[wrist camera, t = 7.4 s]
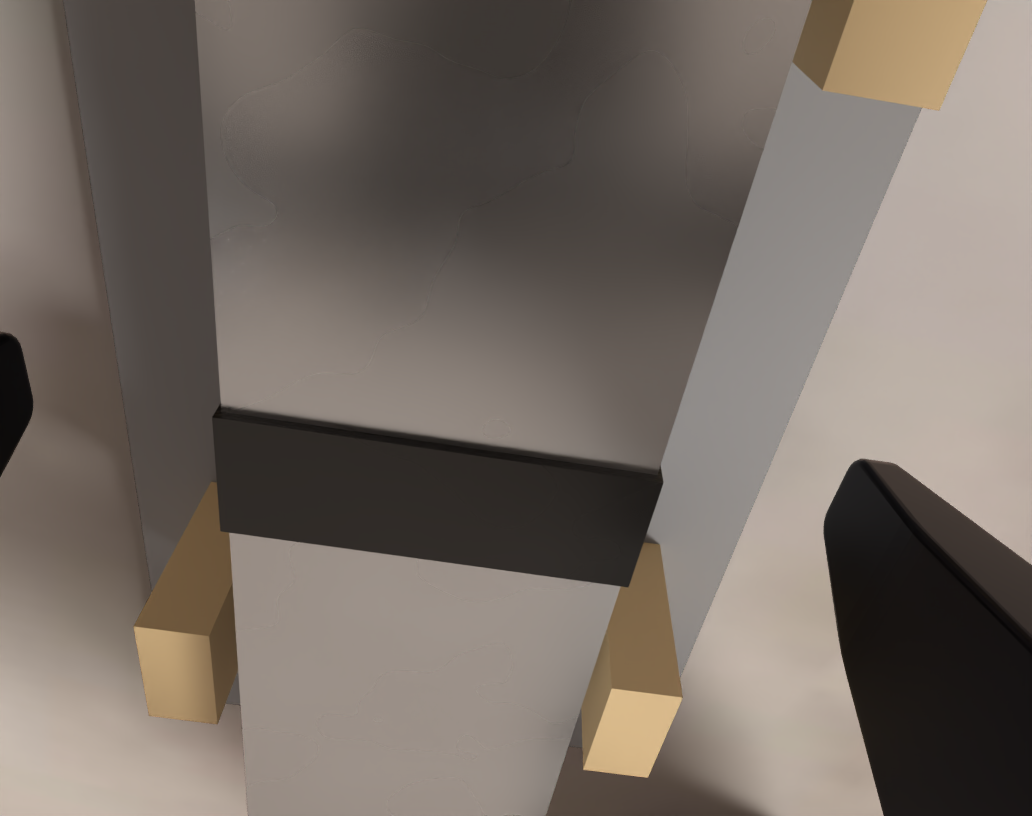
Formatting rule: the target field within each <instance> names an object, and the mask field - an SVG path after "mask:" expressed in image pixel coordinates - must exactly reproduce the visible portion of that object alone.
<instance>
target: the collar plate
mask: <svg viewBox="0 0 1032 816" xmlns="http://www.w3.org/2000/svg"><path fill="white" fill-rule="evenodd" d="M986 2H987V0H812V3H811V6H810V9H809V12H808V15H807V18H806V21H805V24H804V27H803V30H802V33H801V36H800V39H799V42H798V46H797V49H796V52H795V55H794V58H793V61H792V64H791V67H790V70H789V73H788V76H787V79H786V82H785V85H784V88H783V91H782V94H781V98H780V101H779V104H778V107H777V110H776V113H775V116H774V119H773V122H772V125H771V128H770V131H769V134H768V137H767V140H766V143H765V146H764V150H763V153H762V156H761V159H760V162H759V165H758V168H757V171H756V174H755V177H754V180H753V183H752V186H751V189H750V192H749V195H748V199H747V202H746V205H745V208H744V211H743V214H742V217H741V220H740V223H739V226H738V229H737V232H736V235H735V238H734V241H733V244H732V247H731V251H730V254H729V257H728V260H727V263H726V266H725V269H724V272H723V275H722V278H721V281H720V284H719V287H718V290H717V293H716V296H715V300H714V303H713V306H712V309H711V312H710V315H709V318H708V321H707V324H706V327H705V330H704V333H703V336H702V339H701V342H700V345H699V348H698V352H697V355H696V358H695V361H694V364H693V367H692V370H691V373H690V376H689V379H688V382H687V385H686V388H685V391H684V394H683V397H682V401H681V404H680V407H679V410H678V413H677V416H676V419H675V422H674V425H673V428H672V431H671V434H670V437H669V440H668V443H667V446H666V449H665V453H664V456H663V459H662V462H661V470H662V476H663V482H664V483H663V486H662V489H661V492H660V495H659V498H658V501H657V504H656V507H655V510H654V513H653V516H652V519H651V522H650V525H649V528H648V531H647V534H646V537H645V540H644V543H643V546H642V549H641V552H640V555H639V558H638V561H637V564H636V567H635V570H634V573H633V576H632V579H631V582H630V585H629V588H628V587H620V590H619V593H618V596H617V599H616V602H615V606H614V609H613V612H612V615H611V618H610V621H609V624H608V627H607V630H606V633H605V636H604V639H603V642H602V645H601V648H600V651H599V655H598V658H597V661H596V664H595V667H594V670H593V673H592V676H591V679H590V682H589V685H588V688H587V691H586V694H585V697H584V700H583V703H582V707H581V710H580V713H579V716H578V719H577V722H576V725H575V728H574V731H573V734H572V737H571V740H570V743H569V746H570V747H578V748H583V770H590V771H598V772H606V773H614V774H622V775H630V776H638V777H646V778H648V776H649V774H650V772H651V769H652V767H653V765H654V762H655V760H656V758H657V756H658V753H659V751H660V749H661V746H662V744H663V742H664V739H665V737H666V735H667V733H668V730H669V728H670V726H671V723H672V721H673V719H674V717H675V714H676V712H677V710H678V707H679V705H680V703H681V701H682V698H683V696H682V689H681V683H680V677H681V674H682V672H683V670H684V667H685V665H686V663H687V660H688V658H689V656H690V653H691V651H692V649H693V646H694V644H695V641H696V639H697V637H698V634H699V632H700V630H701V627H702V625H703V623H704V620H705V618H706V616H707V613H708V611H709V608H710V606H711V604H712V601H713V599H714V597H715V594H716V592H717V590H718V587H719V585H720V582H721V580H722V578H723V575H724V573H725V571H726V568H727V566H728V564H729V561H730V559H731V557H732V554H733V552H734V549H735V547H736V545H737V542H738V540H739V538H740V535H741V533H742V531H743V528H744V526H745V524H746V521H747V519H748V516H749V514H750V512H751V509H752V507H753V505H754V502H755V500H756V498H757V495H758V493H759V491H760V488H761V486H762V483H763V481H764V479H765V476H766V474H767V472H768V469H769V467H770V465H771V462H772V460H773V458H774V455H775V453H776V450H777V448H778V446H779V443H780V441H781V439H782V436H783V434H784V432H785V429H786V427H787V425H788V422H789V420H790V417H791V415H792V413H793V410H794V408H795V406H796V403H797V401H798V399H799V396H800V394H801V391H802V389H803V387H804V384H805V382H806V380H807V377H808V375H809V373H810V370H811V368H812V366H813V363H814V361H815V358H816V356H817V354H818V351H819V349H820V347H821V344H822V342H823V340H824V337H825V335H826V333H827V330H828V328H829V325H830V323H831V321H832V318H833V316H834V314H835V311H836V309H837V307H838V304H839V302H840V300H841V297H842V295H843V292H844V290H845V288H846V285H847V283H848V281H849V278H850V276H851V274H852V271H853V269H854V267H855V264H856V262H857V259H858V257H859V255H860V252H861V250H862V248H863V245H864V243H865V241H866V238H867V236H868V234H869V231H870V229H871V226H872V224H873V222H874V219H875V217H876V215H877V212H878V210H879V208H880V205H881V203H882V200H883V198H884V196H885V193H886V191H887V189H888V186H889V184H890V182H891V179H892V177H893V175H894V172H895V170H896V167H897V165H898V163H899V160H900V158H901V156H902V153H903V151H904V149H905V146H906V144H907V142H908V139H909V137H910V134H911V132H912V130H913V127H914V125H915V123H916V120H917V118H918V116H919V113H920V111H921V109H922V108H927V109H933V110H940V108H941V105H942V103H943V101H944V98H945V96H946V94H947V91H948V89H949V87H950V85H951V82H952V80H953V78H954V75H955V73H956V71H957V69H958V66H959V64H960V62H961V59H962V57H963V55H964V53H965V50H966V48H967V46H968V43H969V41H970V39H971V37H972V34H973V32H974V30H975V27H976V25H977V23H978V20H979V18H980V16H981V14H982V11H983V9H984V7H985V4H986ZM63 3H64V10H65V17H66V23H67V30H68V37H69V43H70V50H71V57H72V63H73V70H74V77H75V83H76V90H77V97H78V103H79V110H80V117H81V123H82V130H83V137H84V143H85V150H86V157H87V164H88V170H89V177H90V184H91V190H92V197H93V204H94V210H95V217H96V224H97V230H98V237H99V244H100V250H101V257H102V264H103V270H104V277H105V284H106V291H107V297H108V304H109V311H110V317H111V324H112V331H113V337H114V344H115V351H116V357H117V364H118V371H119V377H120V384H121V391H122V397H123V404H124V411H125V417H126V424H127V431H128V438H129V444H130V451H131V458H132V464H133V471H134V478H135V484H136V491H137V498H138V504H139V511H140V518H141V524H142V531H143V538H144V544H145V551H146V558H147V564H148V571H149V578H150V585H151V591H152V593H151V595H150V597H149V598H148V600H147V602H146V604H145V606H144V608H143V610H142V612H141V613H140V615H139V617H138V619H137V621H136V623H135V625H134V626H133V627H134V632H135V638H136V644H137V649H138V655H139V661H140V667H141V672H142V678H143V684H144V690H145V695H146V701H147V707H148V713H149V716H155V717H163V718H171V719H179V720H187V721H195V722H203V723H211V724H218V722H219V719H220V716H221V714H222V711H223V709H224V706H225V703H227V704H235V705H240V689H239V674H238V659H237V643H236V628H235V612H234V597H233V582H232V566H231V551H230V536H229V533H228V532H221V531H220V519H219V506H218V492H217V479H216V465H215V451H214V438H213V424H212V416H213V415H214V413H215V411H216V410H217V408H218V406H219V405H220V403H221V397H220V382H219V367H218V351H217V336H216V321H215V305H214V290H213V275H212V259H211V244H210V229H209V213H208V198H207V182H206V167H205V152H204V136H203V121H202V106H201V90H200V75H199V60H198V44H197V29H196V14H195V0H63Z"/></svg>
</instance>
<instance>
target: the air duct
mask: <svg viewBox="0 0 1032 816" xmlns="http://www.w3.org/2000/svg"><path fill="white" fill-rule="evenodd" d="M811 3H812V0H195V14H196V29H197V44H198V60H199V75H200V90H201V106H202V121H203V136H204V152H205V167H206V182H207V198H208V213H209V229H210V244H211V259H212V275H213V290H214V305H215V321H216V336H217V351H218V367H219V382H220V397H221V403H220V405H219V406H218V408H217V410H216V411H215V413H214V415H213V416H212V424H213V438H214V451H215V465H216V479H217V492H218V506H219V519H220V531H221V532H228V533H229V536H230V551H231V566H232V582H233V597H234V612H235V628H236V643H237V659H238V674H239V689H240V705H241V720H242V735H243V751H244V766H245V781H246V797H247V812H248V816H546V814H547V811H548V808H549V804H550V801H551V798H552V795H553V792H554V789H555V786H556V783H557V780H558V777H559V774H560V771H561V768H562V765H563V762H564V759H565V756H566V752H567V749H568V746H569V743H570V740H571V737H572V734H573V731H574V728H575V725H576V722H577V719H578V716H579V713H580V710H581V707H582V703H583V700H584V697H585V694H586V691H587V688H588V685H589V682H590V679H591V676H592V673H593V670H594V667H595V664H596V661H597V658H598V655H599V651H600V648H601V645H602V642H603V639H604V636H605V633H606V630H607V627H608V624H609V621H610V618H611V615H612V612H613V609H614V606H615V602H616V599H617V596H618V593H619V590H620V587H628V588H629V585H630V582H631V579H632V576H633V573H634V570H635V567H636V564H637V561H638V558H639V555H640V552H641V549H642V546H643V543H644V540H645V537H646V534H647V531H648V528H649V525H650V522H651V519H652V516H653V513H654V510H655V507H656V504H657V501H658V498H659V495H660V492H661V489H662V486H663V483H664V482H663V476H662V470H661V462H662V459H663V456H664V453H665V449H666V446H667V443H668V440H669V437H670V434H671V431H672V428H673V425H674V422H675V419H676V416H677V413H678V410H679V407H680V404H681V401H682V397H683V394H684V391H685V388H686V385H687V382H688V379H689V376H690V373H691V370H692V367H693V364H694V361H695V358H696V355H697V352H698V348H699V345H700V342H701V339H702V336H703V333H704V330H705V327H706V324H707V321H708V318H709V315H710V312H711V309H712V306H713V303H714V300H715V296H716V293H717V290H718V287H719V284H720V281H721V278H722V275H723V272H724V269H725V266H726V263H727V260H728V257H729V254H730V251H731V247H732V244H733V241H734V238H735V235H736V232H737V229H738V226H739V223H740V220H741V217H742V214H743V211H744V208H745V205H746V202H747V199H748V195H749V192H750V189H751V186H752V183H753V180H754V177H755V174H756V171H757V168H758V165H759V162H760V159H761V156H762V153H763V150H764V146H765V143H766V140H767V137H768V134H769V131H770V128H771V125H772V122H773V119H774V116H775V113H776V110H777V107H778V104H779V101H780V98H781V94H782V91H783V88H784V85H785V82H786V79H787V76H788V73H789V70H790V67H791V64H792V61H793V58H794V55H795V52H796V49H797V46H798V42H799V39H800V36H801V33H802V30H803V27H804V24H805V21H806V18H807V15H808V12H809V9H810V6H811Z"/></svg>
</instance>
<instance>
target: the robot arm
mask: <svg viewBox="0 0 1032 816" xmlns="http://www.w3.org/2000/svg"><path fill="white" fill-rule="evenodd" d="M32 411H33V396H32V392H31V387H30V383H29V378H28V374H27V370H26V365H25V361H24V356H23V352H22V348H21V345H20V343H19V341H18V340H17V338H16V337H14V336H13V335H11V334H10V333H5V332H0V477H1V475H2V473H3V471H4V469H5V467H6V466H7V464H8V462H9V460H10V458H11V456H12V454H13V452H14V450H15V448H16V447H17V445H18V443H19V441H20V439H21V437H22V435H23V433H24V431H25V429H26V428H27V426H28V424H29V421H30V419H31V416H32ZM824 540H825V547H826V554H827V561H828V568H829V575H830V582H831V589H832V596H833V603H834V610H835V617H836V624H837V631H838V637H839V643H840V649H841V654H842V658H843V663H844V667H845V671H846V675H847V679H848V683H849V687H850V690H851V694H852V698H853V702H854V705H855V709H856V713H857V717H858V720H859V724H860V728H861V732H862V736H863V739H864V743H865V747H866V751H867V754H868V758H869V762H870V766H871V770H872V773H873V777H874V781H875V785H876V788H877V792H878V796H879V800H880V803H881V807H882V811H883V815H884V816H1032V565H1031V564H1029V563H1028V562H1027V561H1025V560H1024V559H1023V558H1021V557H1020V556H1019V555H1017V554H1016V553H1015V552H1013V551H1012V550H1011V549H1009V548H1008V547H1007V546H1005V545H1004V544H1003V543H1001V542H1000V541H999V540H997V539H996V538H995V537H993V536H992V535H990V534H989V533H988V532H986V531H985V530H984V529H982V528H981V527H980V526H978V525H977V524H976V523H974V522H973V521H972V520H970V519H969V518H968V517H966V516H965V515H964V514H962V513H961V512H960V511H958V510H957V509H956V508H954V507H953V506H952V505H950V504H949V503H947V502H946V501H945V500H943V499H942V498H941V497H939V496H938V495H937V494H935V493H934V492H933V491H931V490H930V489H929V488H927V487H926V486H925V485H923V484H922V483H921V482H919V481H918V480H917V479H915V478H914V477H913V476H911V475H910V474H909V473H907V472H906V471H905V470H903V469H902V468H900V467H899V466H898V465H896V464H893V463H889V462H882V461H875V460H868V459H859V460H857V461H855V462H853V464H852V465H851V466H850V467H849V469H848V470H847V472H846V474H845V476H844V478H843V480H842V483H841V485H840V487H839V489H838V491H837V493H836V495H835V497H834V499H833V501H832V503H831V505H830V507H829V509H828V511H827V513H826V517H825V520H824Z"/></svg>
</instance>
